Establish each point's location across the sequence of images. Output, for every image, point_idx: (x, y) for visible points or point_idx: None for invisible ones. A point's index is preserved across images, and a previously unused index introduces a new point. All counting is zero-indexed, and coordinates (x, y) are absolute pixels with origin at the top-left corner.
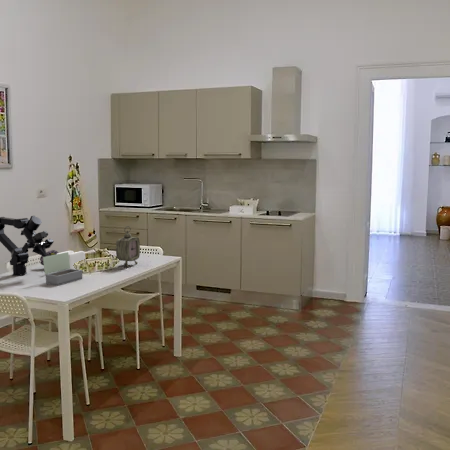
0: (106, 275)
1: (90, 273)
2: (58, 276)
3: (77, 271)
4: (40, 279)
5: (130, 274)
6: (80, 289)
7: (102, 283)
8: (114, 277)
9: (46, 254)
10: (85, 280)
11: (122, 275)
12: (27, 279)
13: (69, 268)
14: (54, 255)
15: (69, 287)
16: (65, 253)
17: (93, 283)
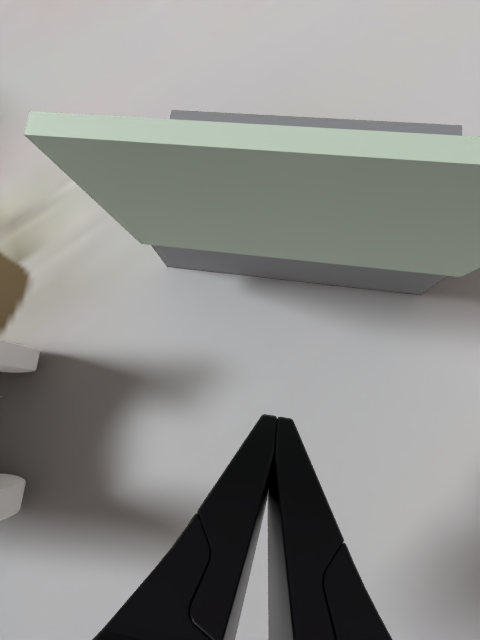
0: (53, 100)
1: (15, 222)
2: (449, 127)
3: (224, 113)
4: (315, 450)
5: (2, 11)
6: (433, 12)
7: (253, 4)
8: (94, 35)
9: (251, 433)
10: None
11: (35, 30)
12: (366, 581)
13: (25, 347)
14: (361, 137)
15: (425, 89)
16: (100, 124)
17: (273, 40)
